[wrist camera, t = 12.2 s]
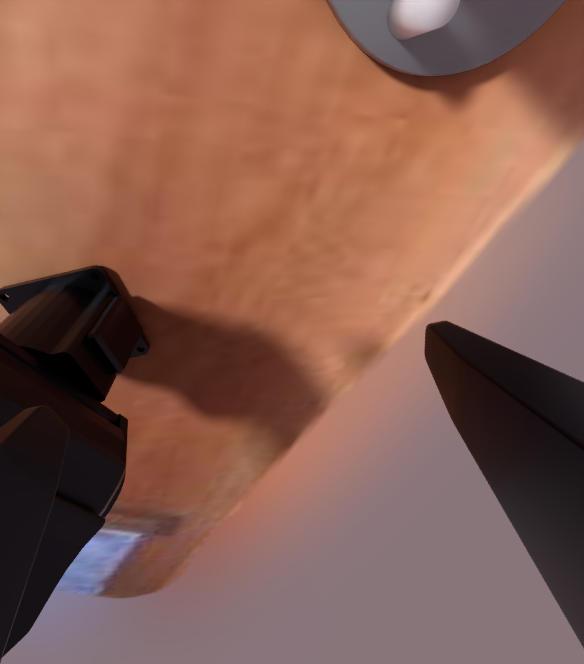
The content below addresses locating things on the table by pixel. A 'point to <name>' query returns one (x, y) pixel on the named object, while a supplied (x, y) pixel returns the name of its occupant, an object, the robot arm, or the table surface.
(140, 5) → the table surface
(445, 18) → the holder
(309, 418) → the table surface
